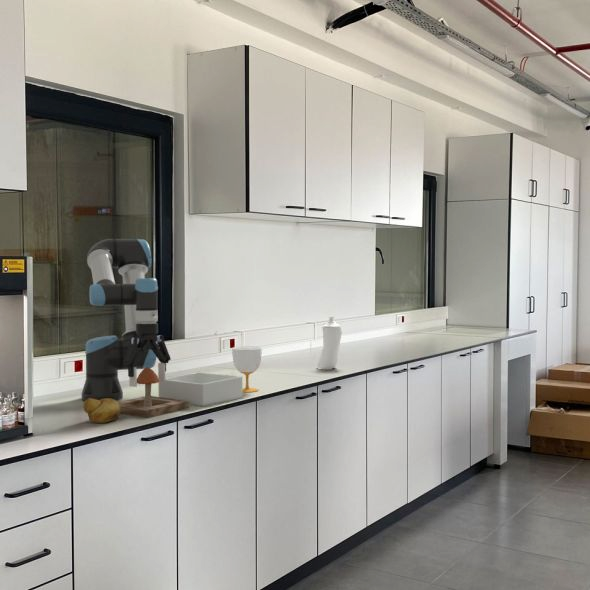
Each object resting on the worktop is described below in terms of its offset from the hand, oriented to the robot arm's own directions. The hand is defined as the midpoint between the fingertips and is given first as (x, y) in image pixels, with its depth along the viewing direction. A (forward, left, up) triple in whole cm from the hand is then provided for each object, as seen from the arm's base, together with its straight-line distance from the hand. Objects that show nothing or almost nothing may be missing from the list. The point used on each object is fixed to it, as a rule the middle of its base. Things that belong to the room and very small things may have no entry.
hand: (147, 384), depth 261 cm
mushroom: (0, 0, -9) cm, 9 cm away
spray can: (+89, +85, -9) cm, 124 cm away
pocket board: (0, 0, -9) cm, 9 cm away
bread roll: (-14, -14, -9) cm, 22 cm away
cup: (+40, +31, -9) cm, 52 cm away
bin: (+20, +16, -9) cm, 27 cm away
